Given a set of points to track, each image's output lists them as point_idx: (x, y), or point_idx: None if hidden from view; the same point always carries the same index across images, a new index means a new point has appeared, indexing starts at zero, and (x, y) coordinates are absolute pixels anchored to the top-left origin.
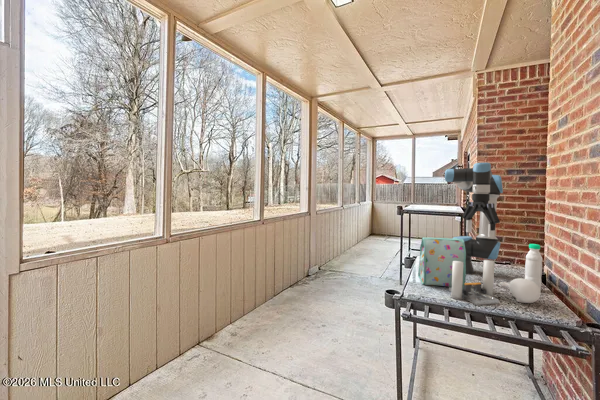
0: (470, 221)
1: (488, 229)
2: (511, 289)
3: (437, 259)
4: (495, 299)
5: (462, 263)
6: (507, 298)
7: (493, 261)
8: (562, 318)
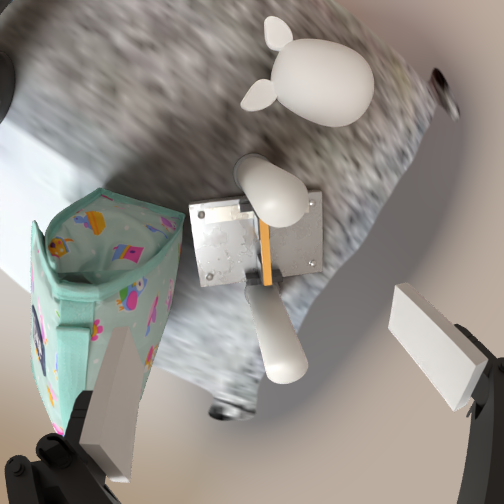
0: (112, 442)
1: (425, 369)
2: (310, 120)
3: (150, 366)
4: (321, 203)
5: (306, 359)
6: (279, 116)
7: (294, 181)
8: (413, 100)
